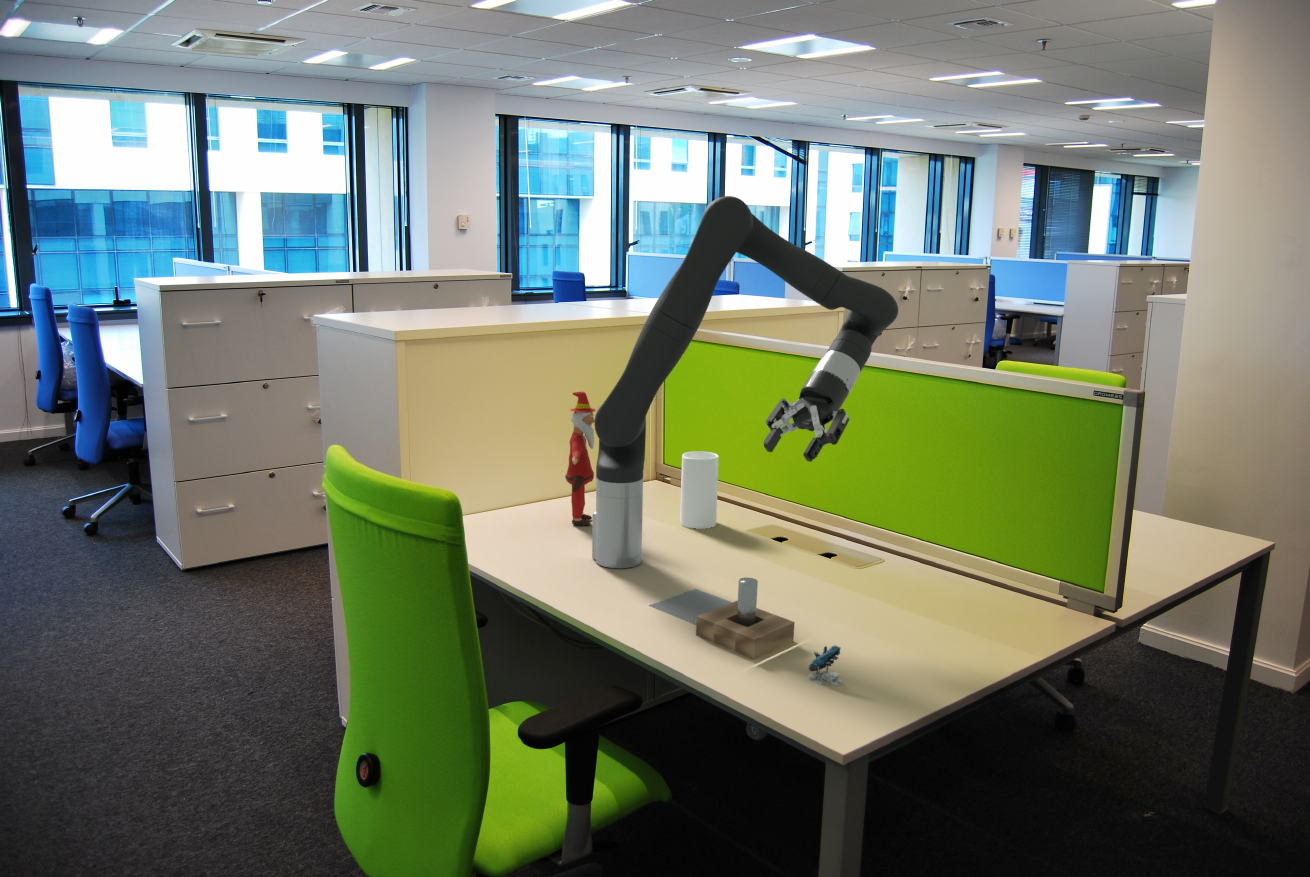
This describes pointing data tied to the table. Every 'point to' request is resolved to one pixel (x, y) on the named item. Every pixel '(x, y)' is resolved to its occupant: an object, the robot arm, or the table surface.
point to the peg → (747, 601)
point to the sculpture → (821, 663)
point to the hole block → (745, 631)
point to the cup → (699, 489)
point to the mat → (690, 605)
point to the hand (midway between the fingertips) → (786, 454)
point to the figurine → (580, 457)
